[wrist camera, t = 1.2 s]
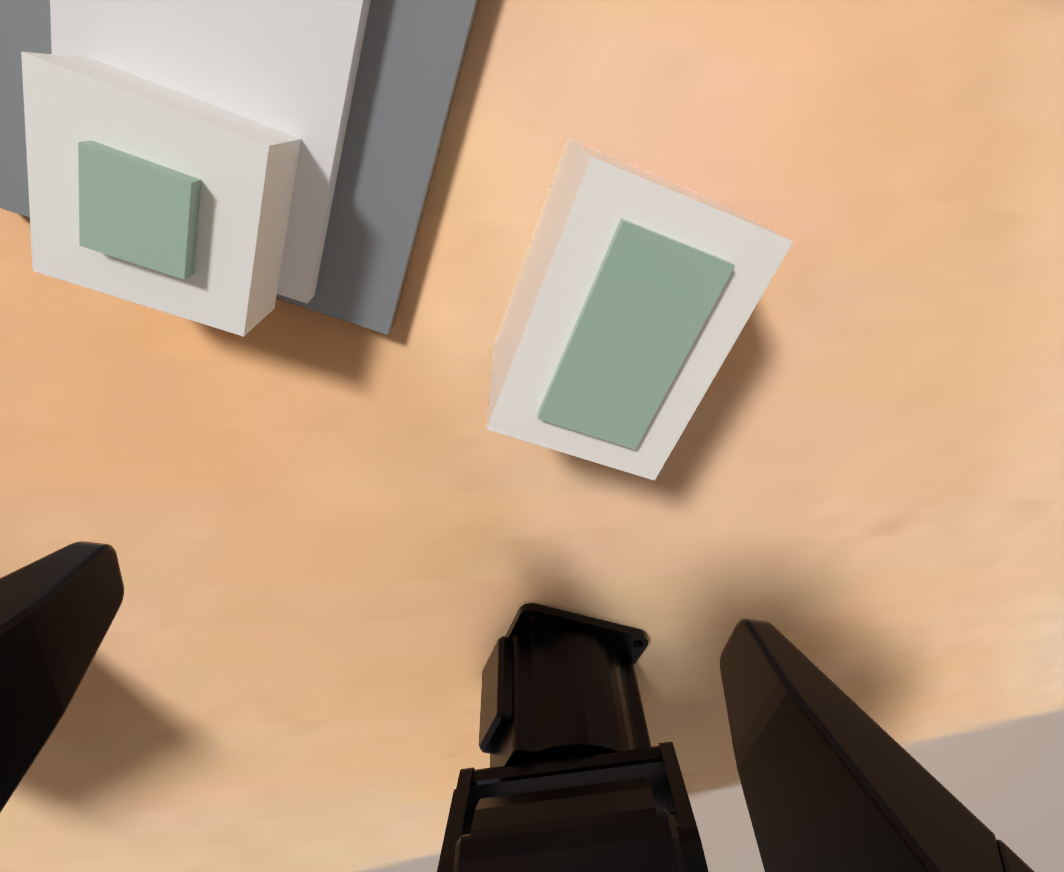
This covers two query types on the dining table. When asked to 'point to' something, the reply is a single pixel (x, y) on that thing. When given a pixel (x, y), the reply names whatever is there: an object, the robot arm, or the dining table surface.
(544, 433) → the block
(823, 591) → the dining table surface
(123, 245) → the rail board
